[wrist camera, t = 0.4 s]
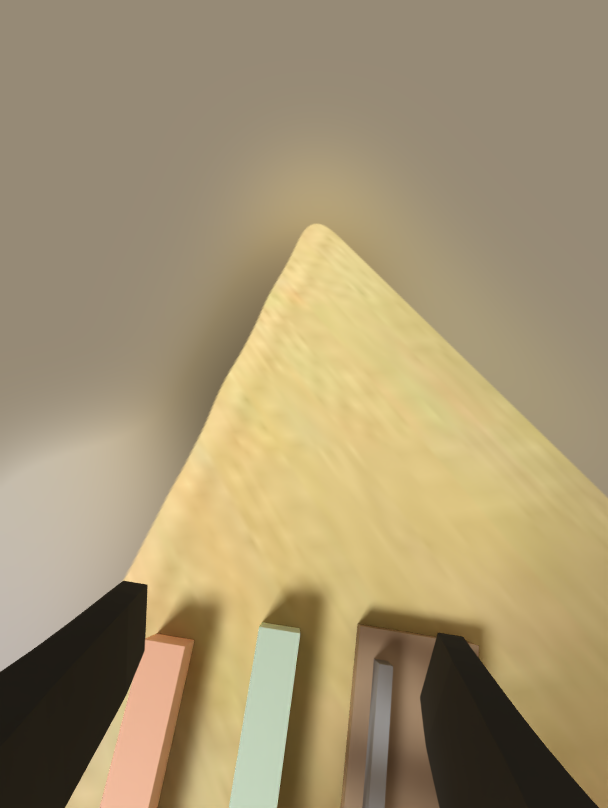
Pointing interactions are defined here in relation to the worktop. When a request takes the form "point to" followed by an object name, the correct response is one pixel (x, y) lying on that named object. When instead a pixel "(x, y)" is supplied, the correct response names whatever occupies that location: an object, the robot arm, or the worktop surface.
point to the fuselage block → (266, 718)
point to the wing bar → (148, 724)
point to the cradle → (388, 722)
